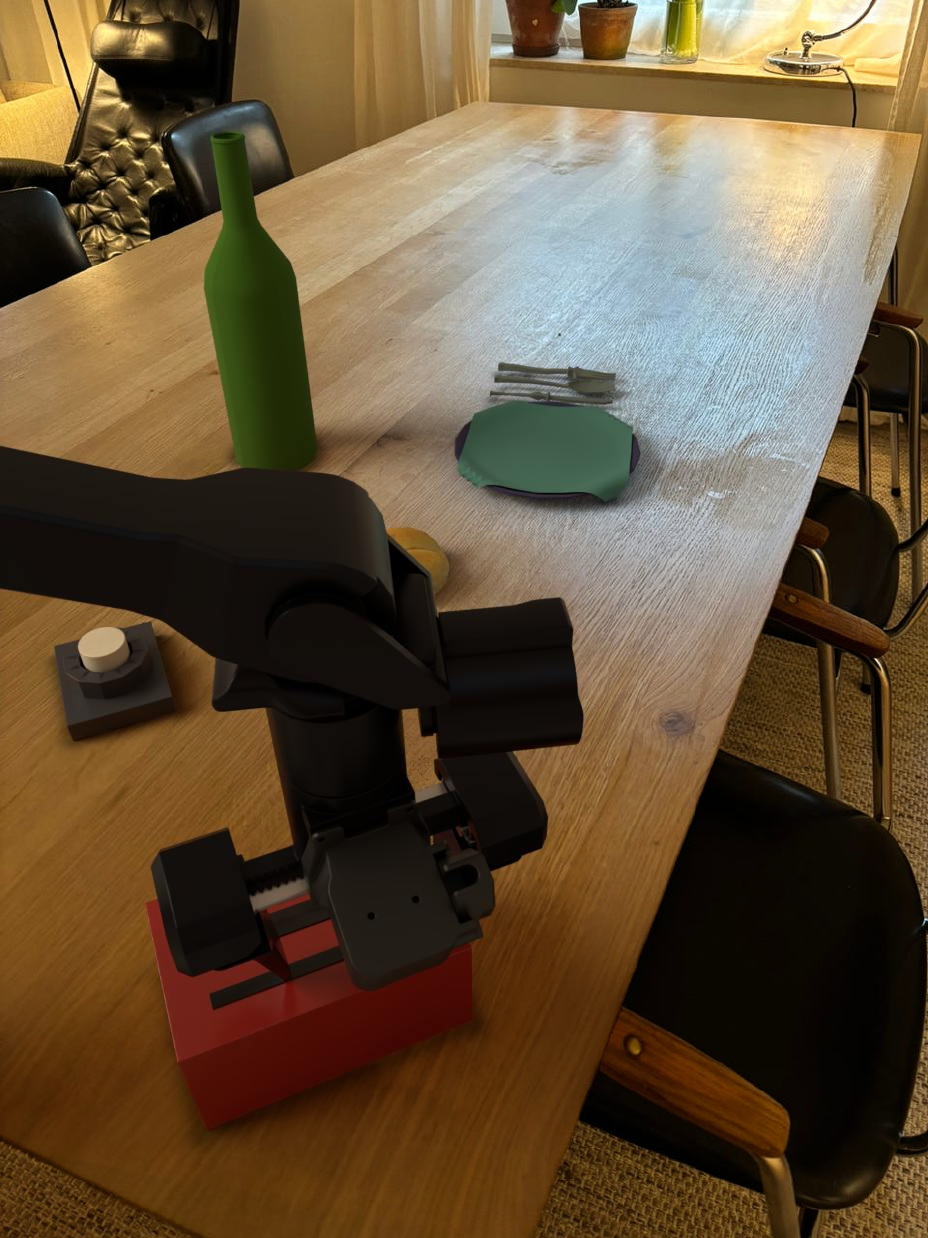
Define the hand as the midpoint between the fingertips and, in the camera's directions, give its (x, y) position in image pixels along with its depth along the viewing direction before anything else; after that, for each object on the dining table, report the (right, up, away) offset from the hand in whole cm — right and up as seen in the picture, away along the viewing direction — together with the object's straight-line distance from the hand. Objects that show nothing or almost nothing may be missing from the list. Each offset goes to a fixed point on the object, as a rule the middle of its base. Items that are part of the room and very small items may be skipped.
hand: (367, 941), depth 54 cm
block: (-23, +12, +27) cm, 38 cm away
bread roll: (0, +21, +38) cm, 44 cm away
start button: (-23, +14, +25) cm, 37 cm away
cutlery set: (+15, +38, +57) cm, 70 cm away
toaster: (-4, -5, +6) cm, 9 cm away
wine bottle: (-15, +35, +55) cm, 67 cm away
